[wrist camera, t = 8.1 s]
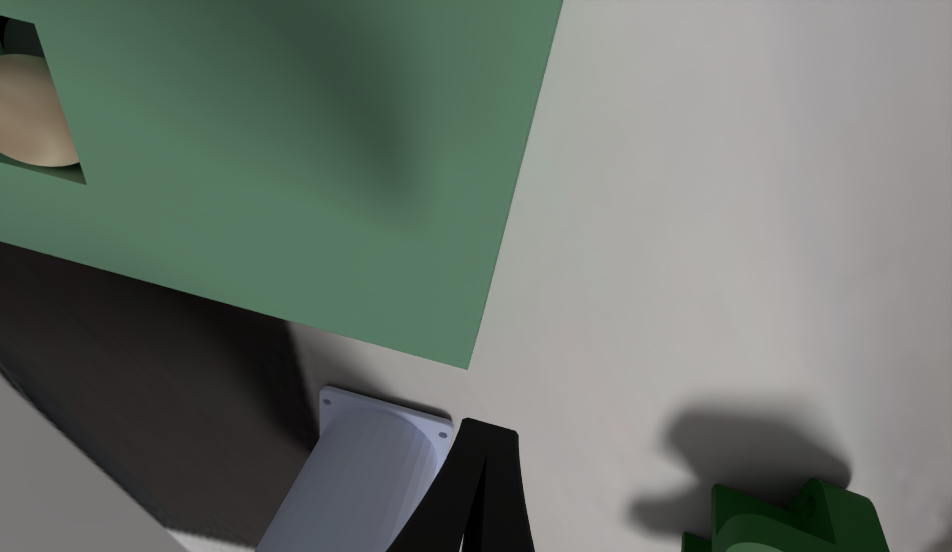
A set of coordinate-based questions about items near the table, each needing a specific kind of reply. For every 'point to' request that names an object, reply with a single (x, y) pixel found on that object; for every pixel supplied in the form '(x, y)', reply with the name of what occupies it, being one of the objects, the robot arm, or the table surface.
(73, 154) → the maple ball
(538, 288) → the table surface
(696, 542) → the clamp
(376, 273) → the putting board
